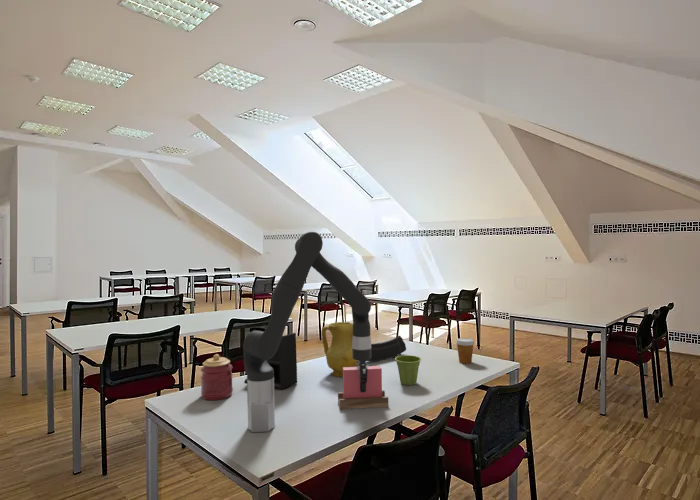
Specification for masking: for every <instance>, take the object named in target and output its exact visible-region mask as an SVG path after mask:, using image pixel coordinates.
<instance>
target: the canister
mask: <svg viewBox="0 0 700 500" xmlns="http://www.w3.org/2000/svg"><path fill="white" fill-rule="evenodd" d="M232 369H233V365H232V364H231V360H230V359H228V358H227V357H223V356H220V354H218V353H216V354H214V355H213V357H211V358H208V359H206V360H205V361H204V362H202V367H201V368H200V372H201V376H200V379H201V381H200V383H201V389H200V395H201V398H202V399H203V400H206V401H218V400H224V399H227V398H229V397H231V396H232V395H233V391H234V387H233V373H232Z"/></svg>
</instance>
